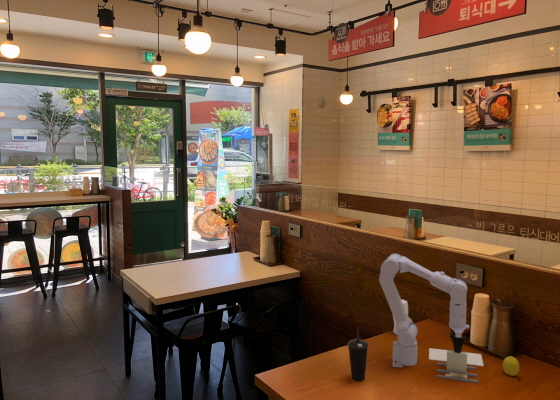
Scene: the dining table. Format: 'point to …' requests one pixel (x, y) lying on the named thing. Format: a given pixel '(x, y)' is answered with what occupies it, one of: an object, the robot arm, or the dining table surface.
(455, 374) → the offcut top
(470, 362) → the board
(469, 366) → the rack
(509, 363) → the lemon
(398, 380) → the dining table surface
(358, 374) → the drinking cup
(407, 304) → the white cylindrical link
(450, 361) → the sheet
